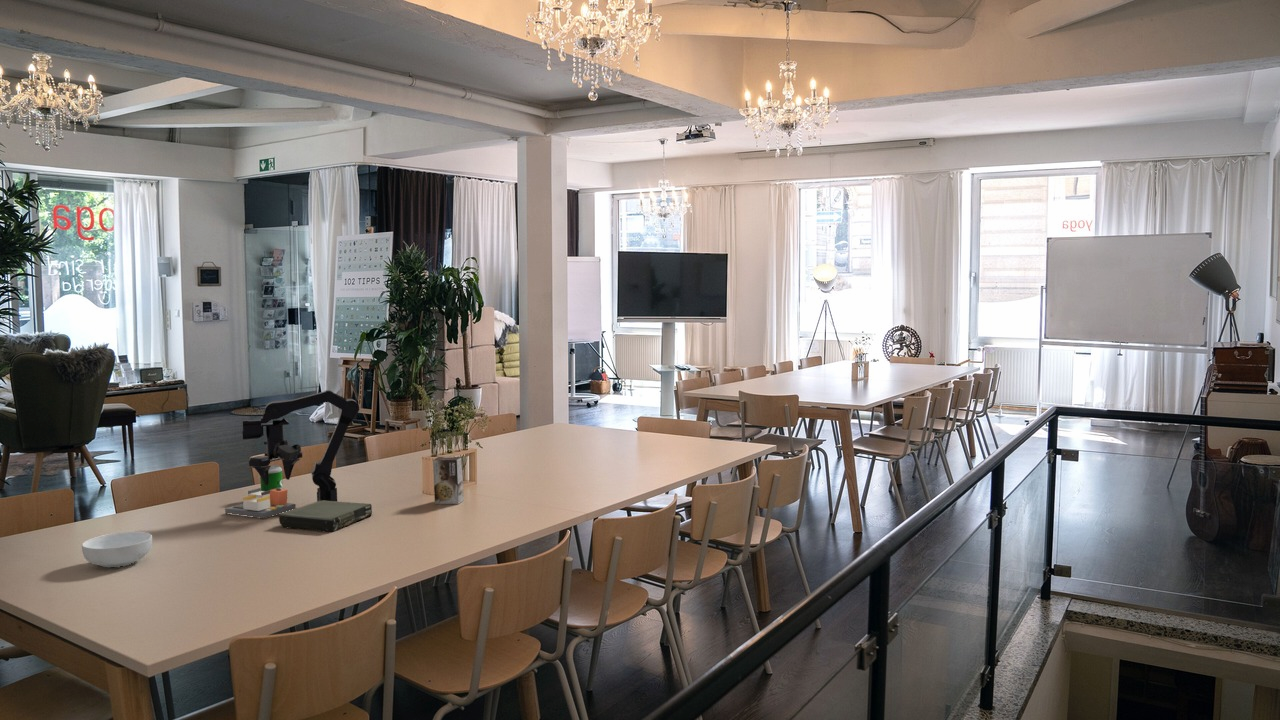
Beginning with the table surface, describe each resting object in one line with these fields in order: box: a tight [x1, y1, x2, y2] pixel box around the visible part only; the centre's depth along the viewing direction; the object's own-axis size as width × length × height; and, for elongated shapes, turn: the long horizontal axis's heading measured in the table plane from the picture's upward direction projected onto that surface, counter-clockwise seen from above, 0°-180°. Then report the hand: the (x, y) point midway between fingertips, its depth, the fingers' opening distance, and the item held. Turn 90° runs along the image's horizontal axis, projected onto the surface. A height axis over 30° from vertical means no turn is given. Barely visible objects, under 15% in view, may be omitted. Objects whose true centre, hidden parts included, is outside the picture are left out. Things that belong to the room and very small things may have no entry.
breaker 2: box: [242, 494, 270, 511], centre depth 298 cm, size 7×5×4 cm
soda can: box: [259, 465, 284, 491], centre depth 322 cm, size 8×8×12 cm
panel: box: [224, 502, 296, 519], centre depth 303 cm, size 18×14×2 cm
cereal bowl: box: [81, 531, 153, 568], centre depth 244 cm, size 17×17×7 cm
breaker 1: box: [247, 487, 270, 498], centre depth 308 cm, size 7×5×4 cm
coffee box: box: [432, 456, 464, 505], centre depth 313 cm, size 9×6×16 cm
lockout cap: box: [270, 488, 288, 506], centre depth 304 cm, size 4×4×6 cm
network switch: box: [278, 500, 373, 533], centre depth 287 cm, size 23×23×5 cm
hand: (277, 482), depth 304 cm, fingers open, 9 cm apart
